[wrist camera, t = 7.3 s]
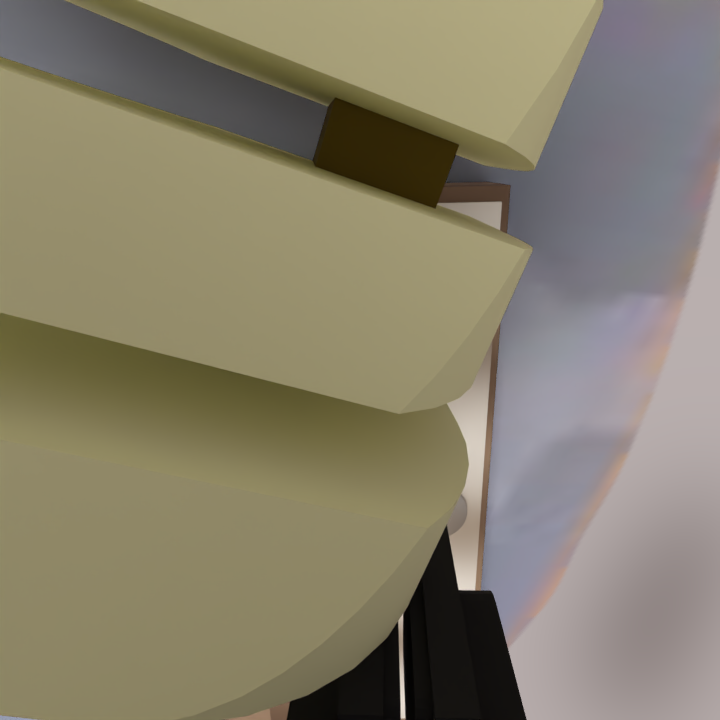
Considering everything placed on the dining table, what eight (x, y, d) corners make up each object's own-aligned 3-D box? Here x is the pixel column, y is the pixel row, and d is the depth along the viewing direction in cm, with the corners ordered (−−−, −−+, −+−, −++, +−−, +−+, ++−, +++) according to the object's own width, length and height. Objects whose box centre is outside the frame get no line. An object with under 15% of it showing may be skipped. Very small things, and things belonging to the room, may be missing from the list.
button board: (114, 191, 20) (70, 196, 17) (486, 181, 20) (514, 185, 17) (200, 676, 29) (183, 741, 25) (458, 664, 29) (473, 726, 26)
